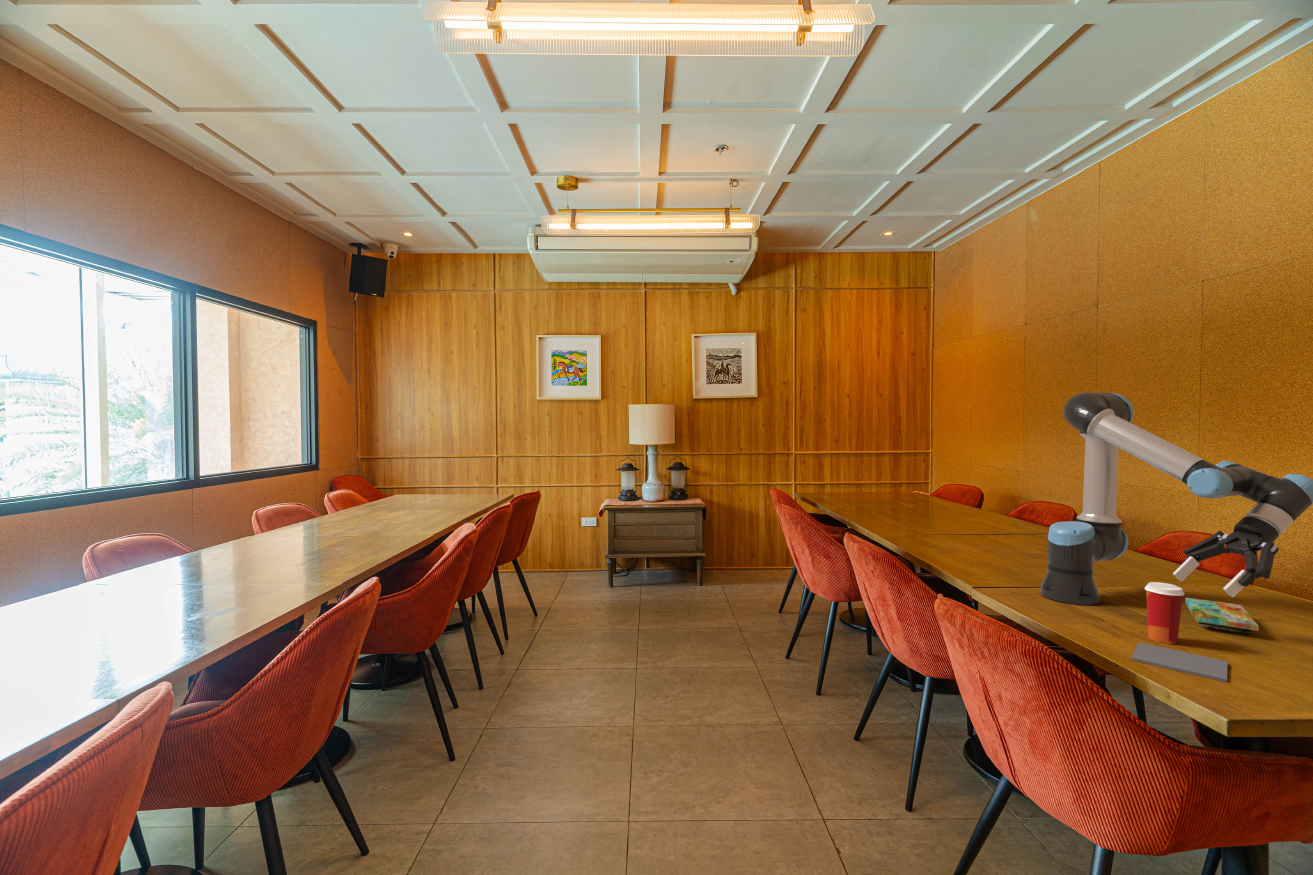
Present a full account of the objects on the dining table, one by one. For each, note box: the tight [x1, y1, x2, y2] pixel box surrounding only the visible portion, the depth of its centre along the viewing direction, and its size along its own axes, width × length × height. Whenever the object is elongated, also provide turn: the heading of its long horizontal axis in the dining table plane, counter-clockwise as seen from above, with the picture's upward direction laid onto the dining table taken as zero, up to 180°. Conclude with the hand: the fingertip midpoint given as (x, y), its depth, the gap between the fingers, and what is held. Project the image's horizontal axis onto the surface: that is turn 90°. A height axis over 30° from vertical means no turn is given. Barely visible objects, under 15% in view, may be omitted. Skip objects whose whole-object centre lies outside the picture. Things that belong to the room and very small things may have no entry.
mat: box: [1130, 642, 1228, 683], centre depth 135 cm, size 16×13×1 cm
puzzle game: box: [1185, 597, 1260, 635], centre depth 161 cm, size 12×5×20 cm
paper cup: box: [1144, 581, 1186, 645], centre depth 149 cm, size 8×8×14 cm
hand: (1201, 585), depth 147 cm, fingers open, 13 cm apart
